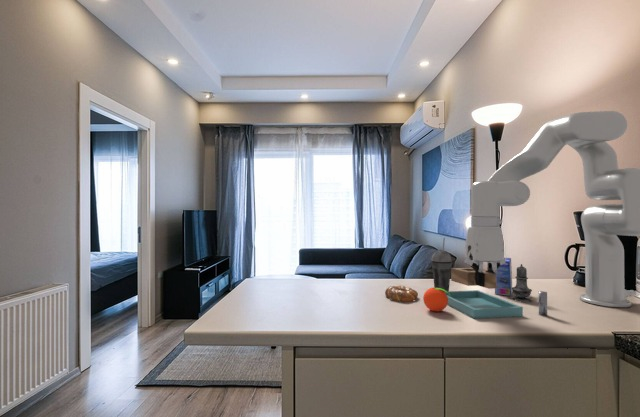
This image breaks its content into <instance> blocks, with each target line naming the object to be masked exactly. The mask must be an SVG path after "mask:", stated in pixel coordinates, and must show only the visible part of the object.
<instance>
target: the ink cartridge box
mask: <svg viewBox="0 0 640 417" xmlns="http://www.w3.org/2000/svg"><path fill="white" fill-rule="evenodd" d="M504 258H505V261H506V263H504V264H503V265H500V267H499V268H498V269H497V272H495V274H496V276H497V288H495V289H494V295H498V296H499V295H500V296H507V297H508V296H509V297H511V296H512V294H513V290H512V289H511V288H512V287H513V274H512V273H513V271H512V270H513V266H512V258H511V257H504Z"/></svg>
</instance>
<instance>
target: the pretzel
mask: <svg viewBox="0 0 640 417" xmlns="http://www.w3.org/2000/svg"><path fill="white" fill-rule="evenodd" d="M384 294H385V297H386V298H388V299H390V300H391V301H394V302H401V303H413V302H414V301H417V300H418V296H419V293H418V292H417V290H415V289H413V288H411V287H408V286H407V287H406V286H405V285H397V286H395V285H392V286H388V287H387V288H386V289H385V291H384Z"/></svg>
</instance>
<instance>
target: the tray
mask: <svg viewBox="0 0 640 417" xmlns="http://www.w3.org/2000/svg"><path fill="white" fill-rule="evenodd" d="M447 292H448V293H449V294H450V295H449V294H448V293H447ZM447 292H445V293H446V295H447V297H448V304H447V306H449V307H451V308H453V309H454V310H456V311H458V312H459V313H462V314H464V315H466V316H468V317H470V318H472V319H474V320H478V319H479V320H480V319H493V318H494V319H495V318H496V319H497V318H509V317H510V318H511V317H512V316H515V317H524V315H523V314H524V313H523V310H524V308H523V306H520V305H518V304H515V303H514V302H510V301H507V300H505V299H502V298H499V297H497V296H494V295H492V294H489V293H486V292H483V291H481V290H479V289H476V290H475V289H474V290H451V291H450V290H449V291H447ZM450 296H451V297H450ZM512 318H513V317H512Z"/></svg>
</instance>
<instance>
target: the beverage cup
mask: <svg viewBox="0 0 640 417" xmlns="http://www.w3.org/2000/svg"><path fill="white" fill-rule="evenodd" d="M445 241H446V237H443V238H442V249H441V250H440V249H439V250H436V251H435V252H433V254H432V256H431V260H430V262H431V267H432V278H433V288H435V287H436V288H441V289H444V290H446V291H450V285H451V284H450V283H451V282H450V281H451V268H452V265H453V258H452V256H451V255H450V253H449V252H448V251H446V250H445V244H446V243H445ZM444 292H445V291H444Z"/></svg>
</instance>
